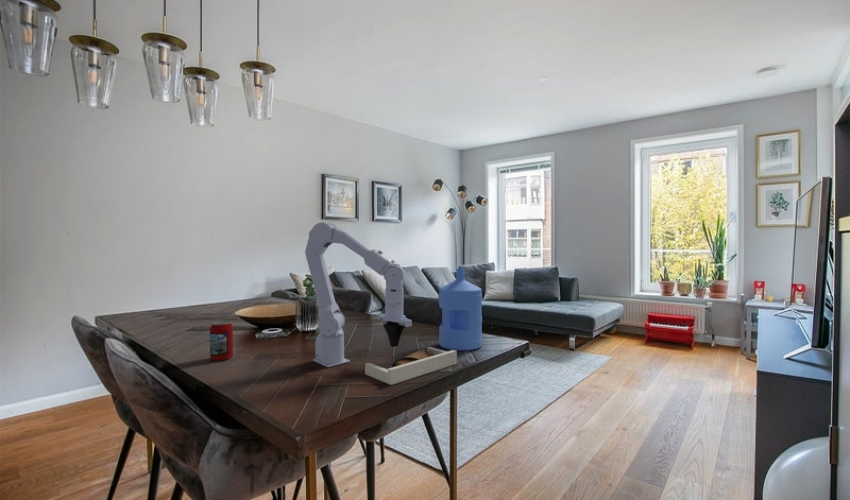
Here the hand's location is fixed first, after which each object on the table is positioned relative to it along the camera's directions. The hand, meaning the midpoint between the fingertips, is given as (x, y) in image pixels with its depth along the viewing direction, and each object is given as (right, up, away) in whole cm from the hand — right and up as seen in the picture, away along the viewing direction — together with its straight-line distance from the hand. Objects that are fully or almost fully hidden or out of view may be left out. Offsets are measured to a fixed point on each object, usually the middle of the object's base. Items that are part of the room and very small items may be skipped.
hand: (394, 346), depth 126 cm
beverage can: (-57, -6, +5) cm, 58 cm away
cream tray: (+6, -5, -6) cm, 10 cm away
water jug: (+23, -5, +20) cm, 31 cm away
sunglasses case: (+8, -6, -3) cm, 10 cm away
